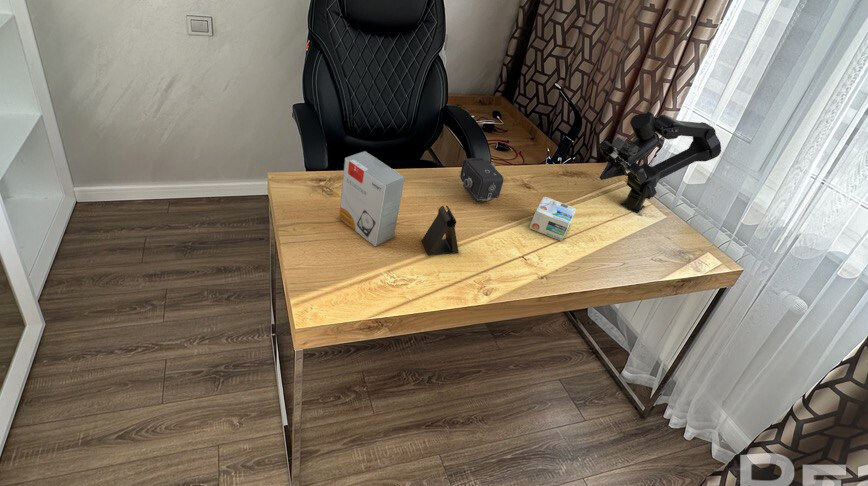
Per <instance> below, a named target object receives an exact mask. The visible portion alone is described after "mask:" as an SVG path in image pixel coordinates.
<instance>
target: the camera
mask: <svg viewBox="0 0 868 486" xmlns="http://www.w3.org/2000/svg"><path fill="white" fill-rule="evenodd" d="M459 178H460V180H461V182H462V183H463V186H462V187H463V188H464V189H465V190H466V191H467V193H468V194H469V195H470V196H471V197H472V199H473V200H474V201H475V202H489V201H493V200H495V199H499V197H500V194H501V191H502V187H503V184H504V179H505V178H504V177H503V175H502V174H501V173H500V172H499V171H498V170H497V168H496V164H495V163H493V162H492V163H491V162H490V161H489V160H488V159H483V157H476V158H475V157H472V158H464V159H463V161H462V166H461V170H460V174H459Z"/></svg>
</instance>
